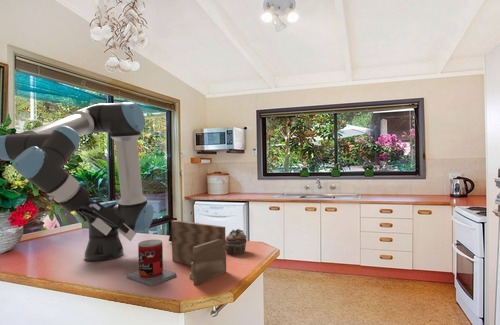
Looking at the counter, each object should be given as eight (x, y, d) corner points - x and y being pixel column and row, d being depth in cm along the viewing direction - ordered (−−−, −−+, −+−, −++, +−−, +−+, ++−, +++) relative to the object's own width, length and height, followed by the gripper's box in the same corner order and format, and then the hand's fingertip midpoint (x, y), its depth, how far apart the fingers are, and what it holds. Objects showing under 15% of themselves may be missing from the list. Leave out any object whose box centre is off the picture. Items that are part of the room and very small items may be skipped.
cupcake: (238, 248, 141) (237, 226, 141) (251, 253, 133) (250, 229, 133) (220, 252, 135) (219, 229, 135) (232, 257, 127) (231, 233, 127)
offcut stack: (189, 278, 105) (189, 263, 105) (207, 270, 112) (207, 256, 112) (198, 280, 102) (197, 265, 102) (216, 272, 110) (216, 258, 110)
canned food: (134, 275, 106) (133, 243, 106) (153, 268, 113) (152, 238, 113) (148, 279, 102) (148, 246, 102) (167, 272, 108) (167, 240, 108)
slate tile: (126, 277, 107) (126, 274, 107) (150, 269, 115) (150, 266, 115) (152, 286, 99) (151, 282, 99) (176, 276, 107) (176, 273, 107)
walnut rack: (144, 270, 114) (143, 226, 114) (175, 259, 126) (174, 220, 126) (196, 285, 98) (195, 235, 98) (226, 271, 110) (225, 226, 110)
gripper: (40, 201, 93) (92, 239, 105) (82, 207, 78) (136, 250, 91) (59, 181, 97) (106, 220, 109) (102, 184, 82) (151, 228, 95)
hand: (120, 234), depth 100 cm, fingers open, 13 cm apart
